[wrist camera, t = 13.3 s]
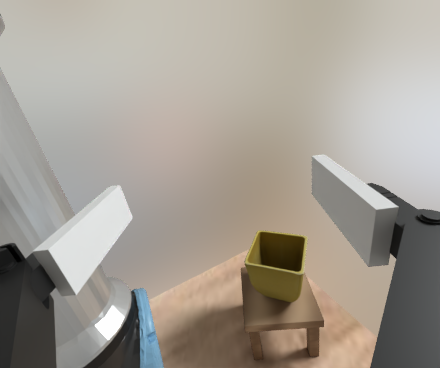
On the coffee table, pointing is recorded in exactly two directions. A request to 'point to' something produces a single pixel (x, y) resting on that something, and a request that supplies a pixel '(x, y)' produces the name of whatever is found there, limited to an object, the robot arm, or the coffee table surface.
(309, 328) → the stool
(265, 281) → the flower pot
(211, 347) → the coffee table surface
